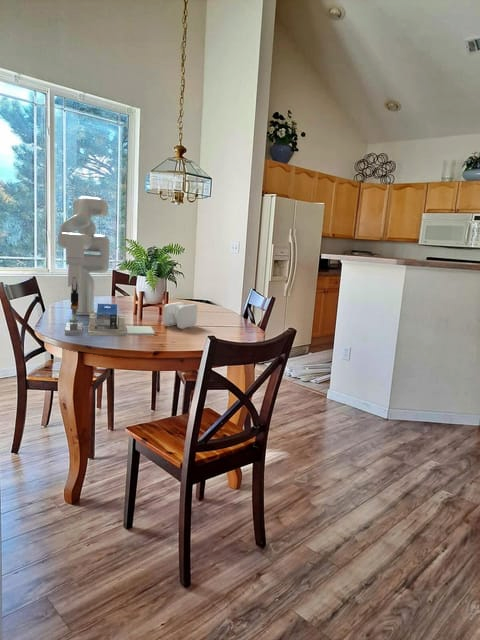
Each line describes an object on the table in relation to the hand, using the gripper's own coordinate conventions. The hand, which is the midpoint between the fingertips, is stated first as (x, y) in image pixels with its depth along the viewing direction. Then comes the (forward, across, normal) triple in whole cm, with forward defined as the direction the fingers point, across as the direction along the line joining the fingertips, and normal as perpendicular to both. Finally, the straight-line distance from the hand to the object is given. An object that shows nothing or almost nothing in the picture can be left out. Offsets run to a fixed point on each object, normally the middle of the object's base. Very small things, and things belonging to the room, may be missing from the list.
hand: (74, 301), depth 205 cm
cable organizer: (+12, -6, +50) cm, 52 cm away
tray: (+12, +5, +29) cm, 32 cm away
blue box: (+13, +5, +14) cm, 20 cm away
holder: (+12, +5, +14) cm, 19 cm away
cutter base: (+12, +5, 0) cm, 13 cm away
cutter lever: (+6, +3, 0) cm, 7 cm away
